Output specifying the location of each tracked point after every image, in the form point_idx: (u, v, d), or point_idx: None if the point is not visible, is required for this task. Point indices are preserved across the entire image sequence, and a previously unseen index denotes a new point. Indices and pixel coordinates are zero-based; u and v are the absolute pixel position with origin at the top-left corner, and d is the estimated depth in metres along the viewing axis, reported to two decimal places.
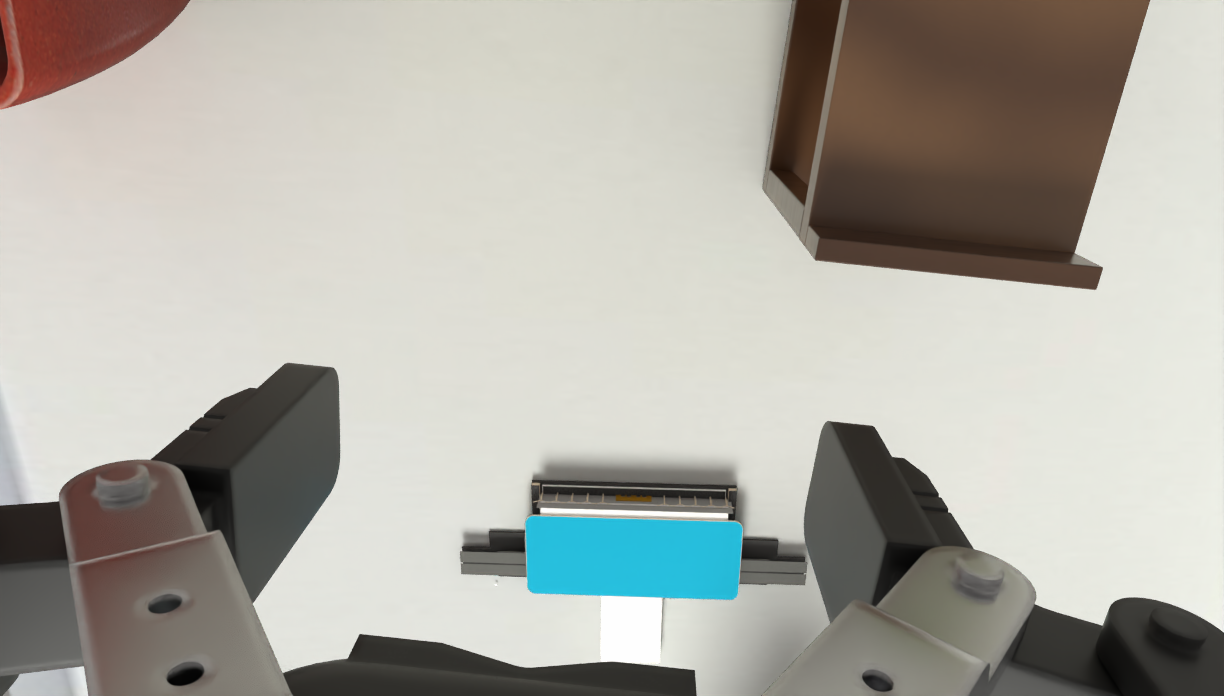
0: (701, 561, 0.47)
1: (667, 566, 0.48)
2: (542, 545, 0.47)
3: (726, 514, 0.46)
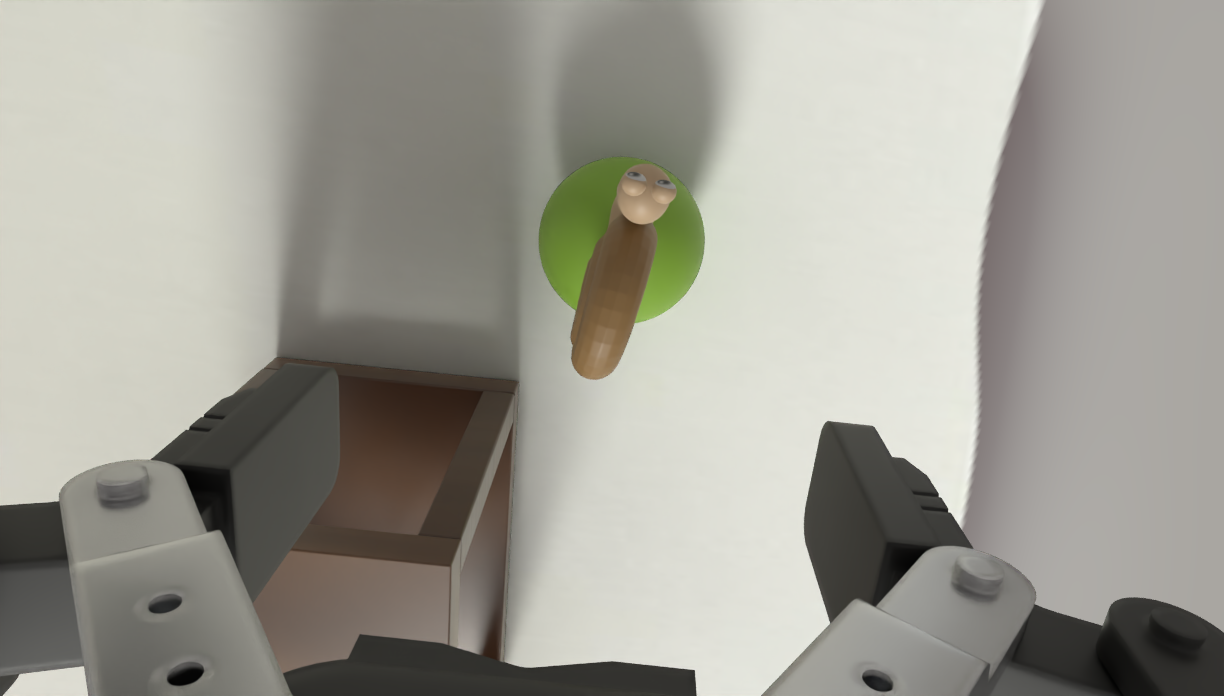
0: None
1: None
2: None
3: None
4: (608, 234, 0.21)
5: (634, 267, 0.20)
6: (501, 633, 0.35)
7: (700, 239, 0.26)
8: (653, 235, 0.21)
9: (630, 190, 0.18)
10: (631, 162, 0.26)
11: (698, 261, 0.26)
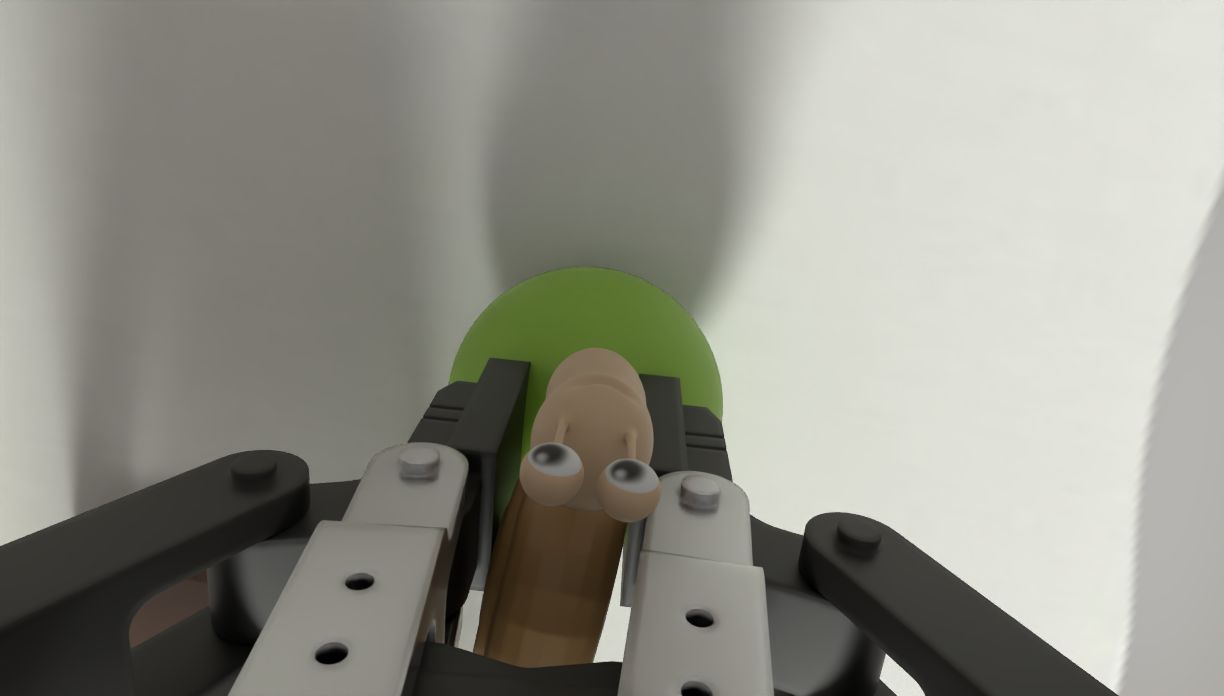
0: None
1: None
2: None
3: None
4: None
5: (582, 575, 0.10)
6: None
7: (716, 407, 0.15)
8: None
9: (539, 498, 0.07)
10: (594, 283, 0.15)
11: None
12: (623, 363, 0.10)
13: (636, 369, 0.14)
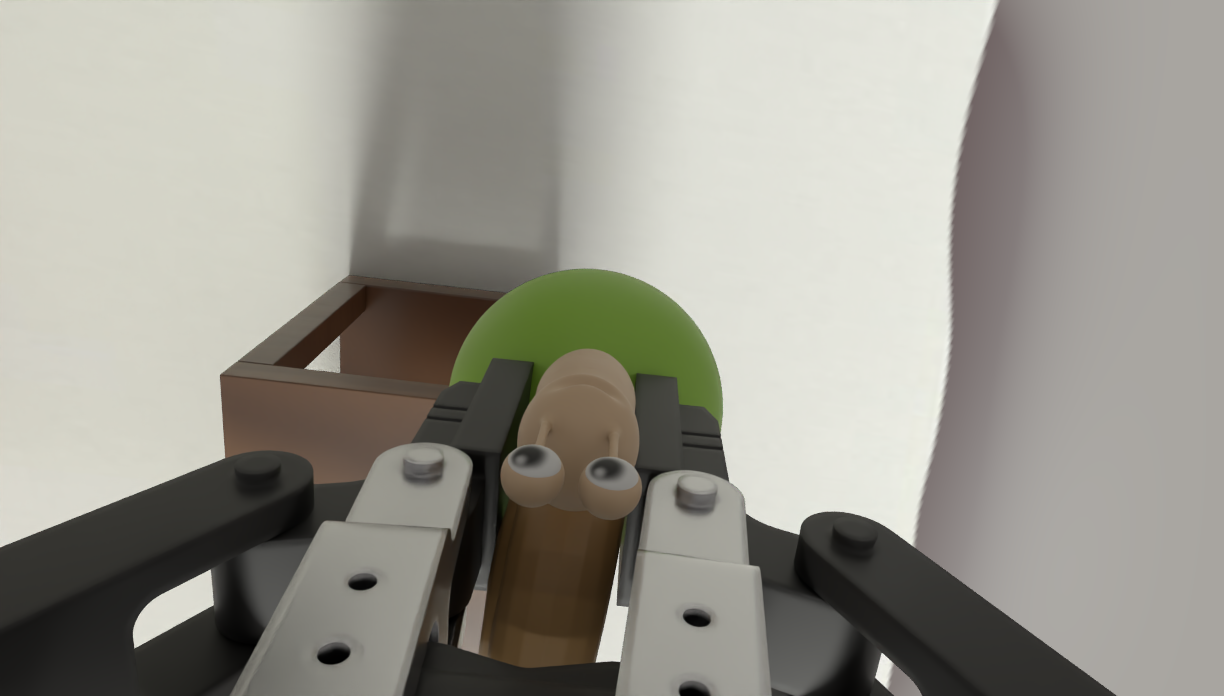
0: None
1: None
2: None
3: None
4: None
5: (579, 574, 0.10)
6: None
7: (715, 401, 0.15)
8: None
9: (520, 501, 0.07)
10: (586, 285, 0.15)
11: None
12: (611, 362, 0.10)
13: (632, 368, 0.14)
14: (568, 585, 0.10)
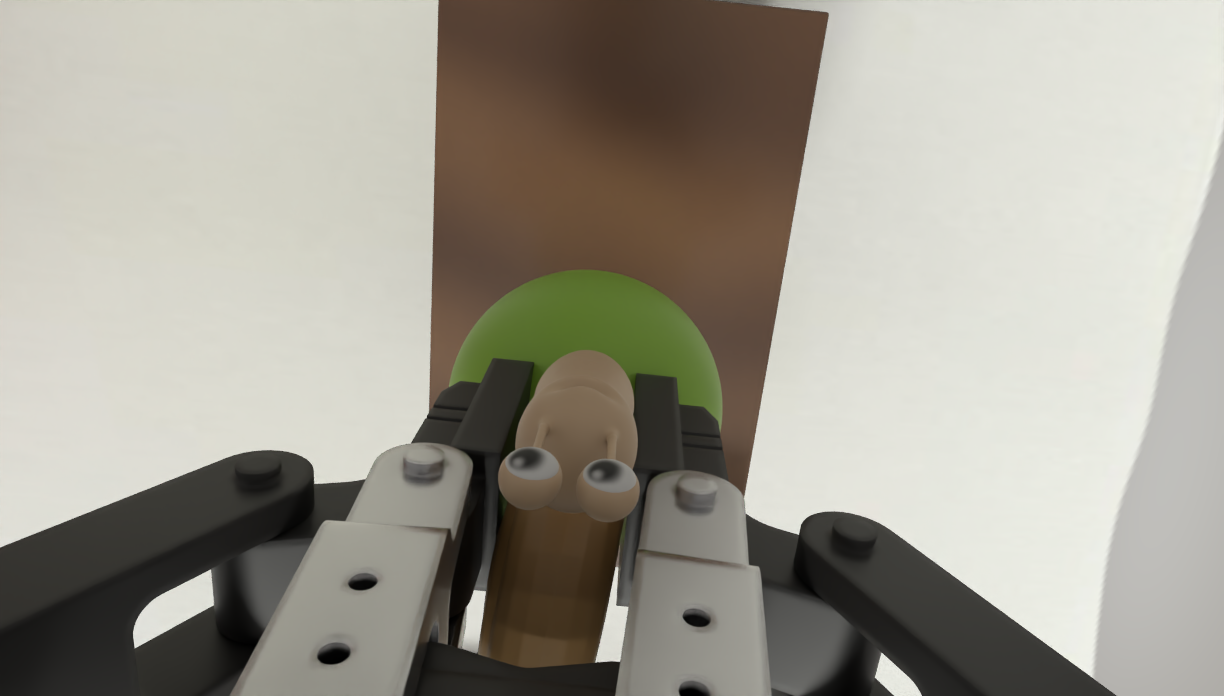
0: None
1: None
2: None
3: None
4: None
5: (578, 576, 0.10)
6: None
7: (714, 402, 0.15)
8: None
9: (518, 503, 0.07)
10: (585, 286, 0.15)
11: None
12: (609, 364, 0.10)
13: (631, 369, 0.14)
14: (567, 587, 0.10)
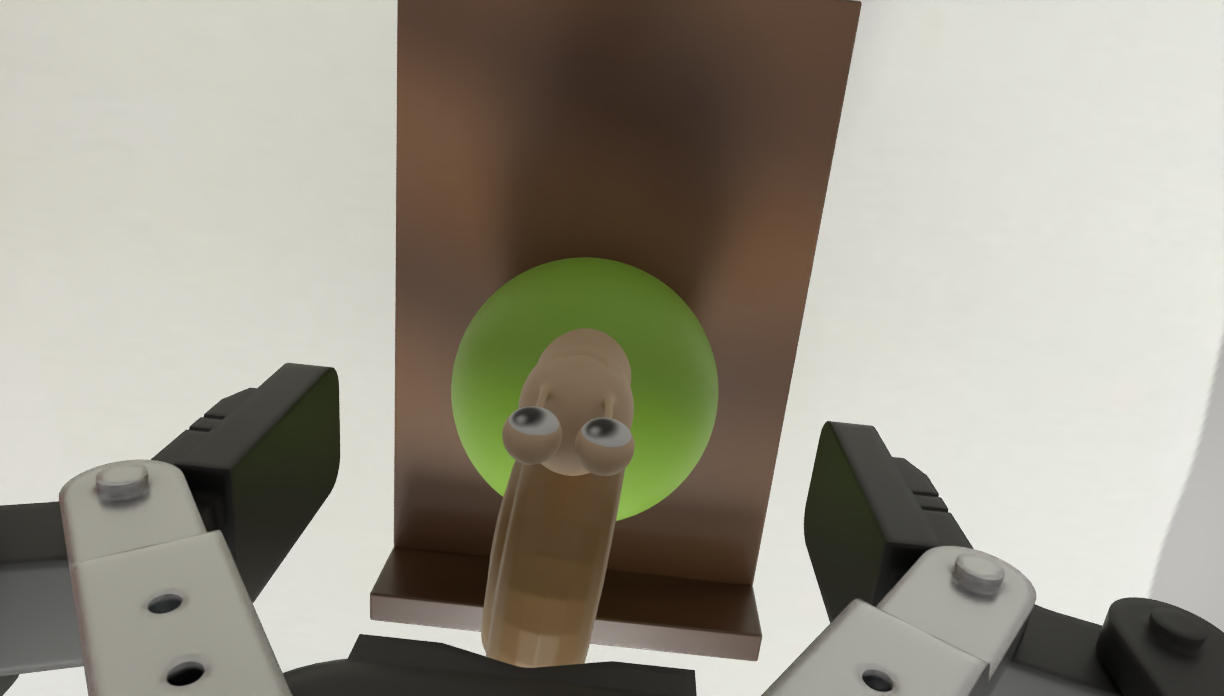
0: None
1: None
2: None
3: None
4: None
5: (578, 540, 0.10)
6: None
7: (710, 385, 0.16)
8: None
9: (522, 458, 0.07)
10: (585, 272, 0.16)
11: (710, 419, 0.16)
12: (607, 339, 0.11)
13: (629, 351, 0.15)
14: (567, 550, 0.10)
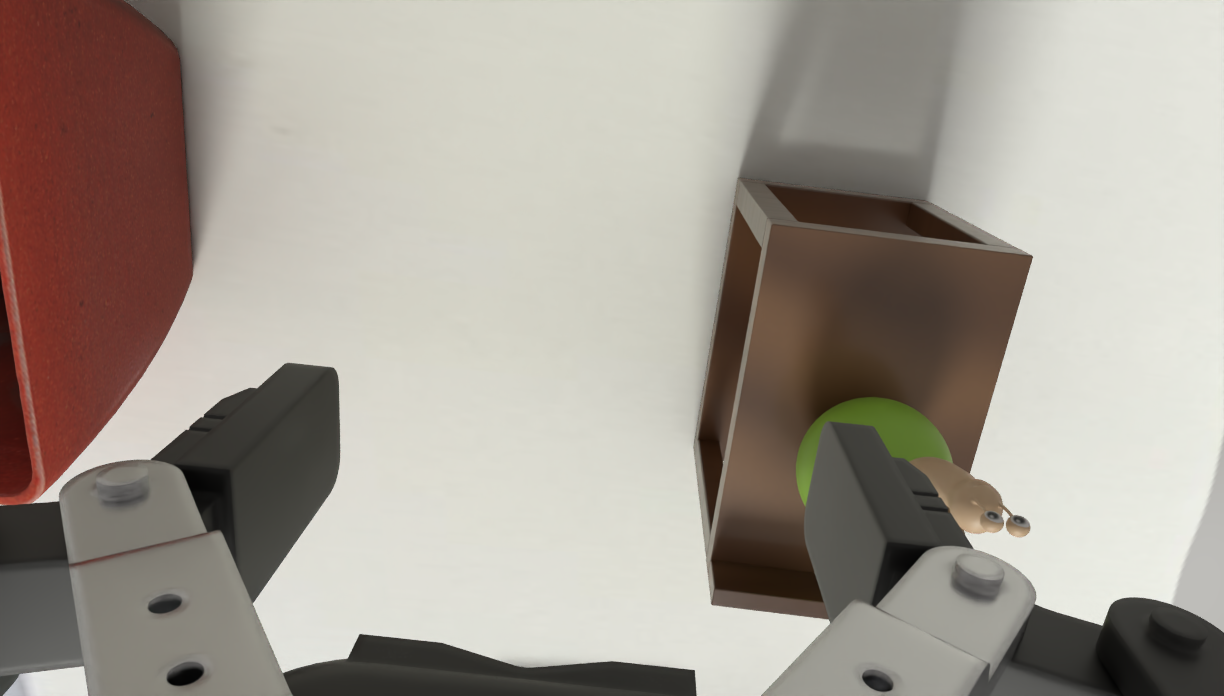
0: None
1: None
2: None
3: None
4: None
5: None
6: None
7: None
8: None
9: (991, 530, 0.20)
10: (888, 411, 0.29)
11: None
12: None
13: None
14: None
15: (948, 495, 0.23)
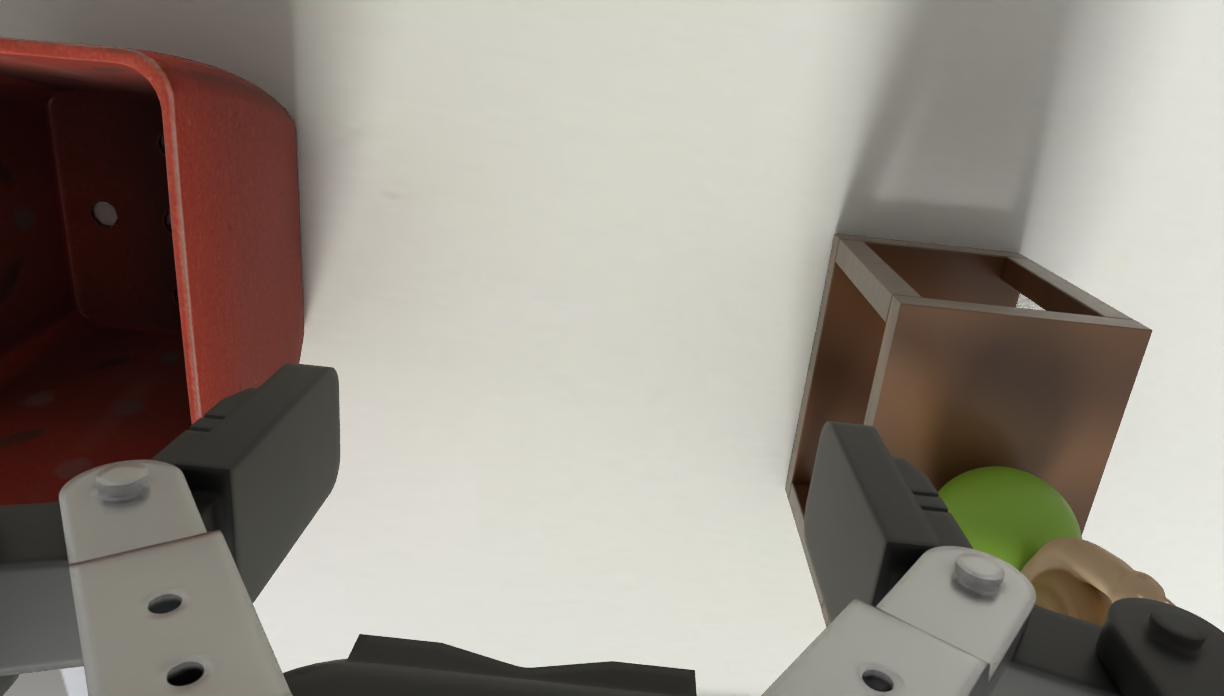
0: None
1: None
2: None
3: None
4: (1076, 605, 0.25)
5: None
6: None
7: None
8: (1111, 600, 0.26)
9: None
10: (1019, 484, 0.30)
11: None
12: None
13: (1057, 531, 0.29)
14: None
15: (1109, 585, 0.24)
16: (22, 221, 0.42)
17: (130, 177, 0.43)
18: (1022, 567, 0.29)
